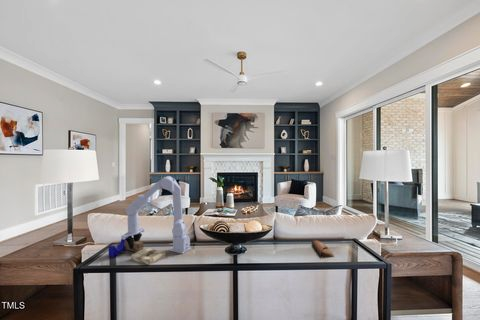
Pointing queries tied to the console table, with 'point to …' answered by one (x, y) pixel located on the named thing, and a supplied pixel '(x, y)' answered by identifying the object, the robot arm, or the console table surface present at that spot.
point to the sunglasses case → (322, 249)
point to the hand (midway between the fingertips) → (133, 247)
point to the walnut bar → (134, 246)
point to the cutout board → (149, 260)
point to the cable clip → (117, 249)
